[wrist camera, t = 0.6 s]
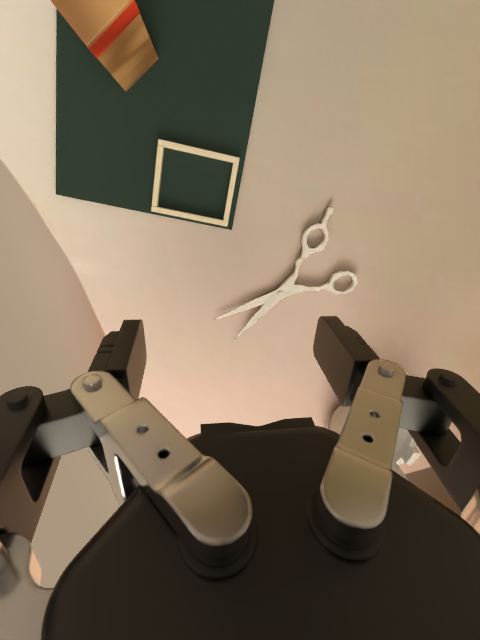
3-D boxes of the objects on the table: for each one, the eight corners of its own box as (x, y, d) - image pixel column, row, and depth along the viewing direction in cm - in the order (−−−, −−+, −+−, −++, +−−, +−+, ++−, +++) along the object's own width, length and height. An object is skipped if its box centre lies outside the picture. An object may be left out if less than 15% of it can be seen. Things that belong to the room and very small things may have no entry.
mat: (59, -64, 29) (52, -75, 28) (273, 1, 31) (275, -7, 30) (57, 194, 36) (52, 194, 35) (231, 229, 39) (231, 230, 37)
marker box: (114, -4, 30) (64, -103, 20) (159, 58, 32) (133, -4, 22) (80, 33, 31) (15, -44, 21) (126, 92, 33) (86, 47, 23)
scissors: (371, 278, 41) (243, 361, 44) (368, 276, 42) (243, 359, 45) (331, 206, 38) (196, 302, 41) (329, 206, 38) (196, 300, 41)
